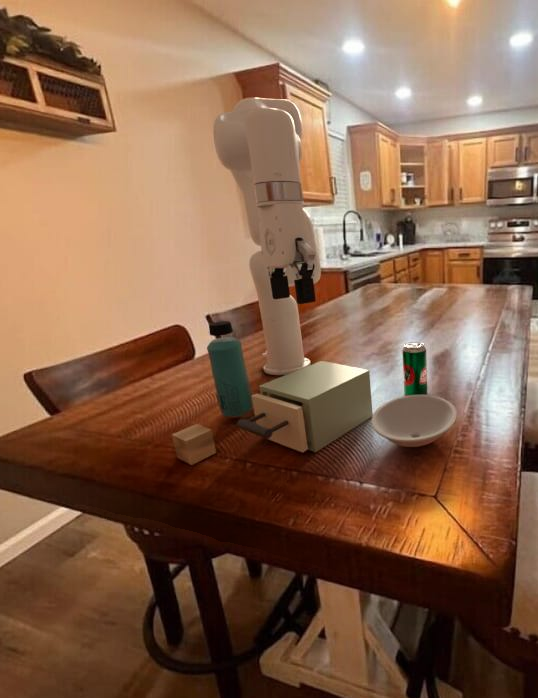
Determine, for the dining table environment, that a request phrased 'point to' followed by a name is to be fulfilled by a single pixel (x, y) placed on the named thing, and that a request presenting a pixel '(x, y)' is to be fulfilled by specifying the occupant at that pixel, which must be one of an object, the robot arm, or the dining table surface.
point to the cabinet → (327, 398)
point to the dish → (414, 419)
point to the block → (194, 444)
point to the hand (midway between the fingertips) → (293, 300)
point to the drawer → (279, 421)
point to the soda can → (414, 369)
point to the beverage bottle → (229, 371)
